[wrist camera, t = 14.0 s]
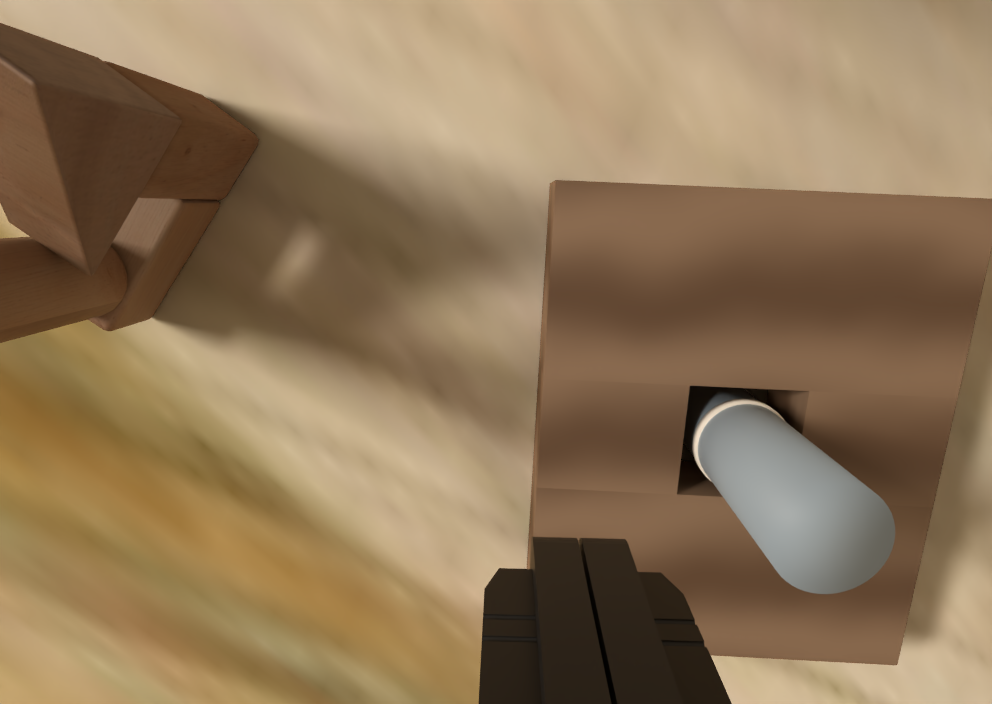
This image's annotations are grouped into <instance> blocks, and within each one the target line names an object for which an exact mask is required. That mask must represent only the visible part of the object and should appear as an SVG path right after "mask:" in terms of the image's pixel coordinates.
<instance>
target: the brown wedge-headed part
mask: <svg viewBox="0 0 992 704" xmlns="http://www.w3.org/2000/svg"><path fill="white" fill-rule="evenodd" d="M258 141H259V140H258V138H257V137H256V135H255V134H254V133H253V132H251V131H250V130H249V129H247V128H246V127H245V126H243V125H242V124H241V123H239V122H238V121H236V120H235V119H234V118H232V117H231V116H230V115H228V114H227V113H226V112H224V111H223V110H222V109H220V108H219V107H217V106H216V105H215V104H213V103H212V102H211V101H209V100H208V99H207V98H205V97H204V96H203V95H201V94H198V93H195V92H192V91H190V90H187V89H184V88H181V87H178V86H176V85H173V84H170V83H167V82H164V81H161V80H159V79H156V78H153V77H150V76H147V75H145V74H142V73H139V72H136V71H133V70H130V69H128V68H125V67H122V66H119V65H116V64H113V63H110V62H106V61H102V60H100V59H99V58H97V57H94V56H92V55H89V54H86V53H83V52H80V51H78V50H75V49H72V48H69V47H66V46H64V45H61V44H58V43H55V42H52V41H50V40H47V39H44V38H41V37H38V36H36V35H33V34H30V33H27V32H24V31H22V30H19V29H16V28H13V27H10V26H8V25H5V24H2V23H0V203H1V205H2V207H3V210H4V212H5V214H6V216H7V219H8V221H9V222H10V223H11V224H13V225H14V226H16V227H17V228H19V229H20V230H21V231H23V232H24V233H26V234H27V235H29V236H30V237H19V238H3V239H0V343H2V342H5V341H9V340H13V339H17V338H20V337H24V336H28V335H31V334H35V333H39V332H43V331H46V330H50V329H54V328H57V327H61V326H65V325H68V324H72V323H76V322H80V321H83V320H87V319H88V320H90V321H91V322H93V323H94V324H96V325H97V326H99V327H100V328H102V329H103V330H106V331H113V330H116V329H119V328H123V327H126V326H129V325H132V324H135V323H138V322H142V321H145V320H148V319H150V318H151V317H152V316H153V315H154V313H155V311H156V310H157V308H158V306H159V305H160V303H161V301H162V300H163V298H164V297H165V295H166V293H167V292H168V290H169V288H170V287H171V285H172V284H173V282H174V280H175V279H176V277H177V275H178V274H179V272H180V270H181V269H182V267H183V266H184V264H185V262H186V261H187V259H188V257H189V256H190V254H191V253H192V251H193V249H194V248H195V246H196V244H197V243H198V241H199V239H200V238H201V236H202V235H203V233H204V231H205V230H206V228H207V226H208V225H209V223H210V222H211V220H212V218H213V217H214V215H215V213H216V212H217V210H218V208H219V206H220V203H219V202H218V200H222V199H223V198H225V197H226V196H227V194H228V193H229V191H230V189H231V188H232V186H233V184H234V183H235V181H236V179H237V178H238V176H239V175H240V173H241V171H242V170H243V168H244V166H245V165H246V163H247V162H248V160H249V158H250V157H251V155H252V153H253V152H254V150H255V148H256V147H257V145H258Z"/></svg>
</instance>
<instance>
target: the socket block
mask: <svg viewBox="0 0 992 704" xmlns="http://www.w3.org/2000/svg"><path fill="white" fill-rule="evenodd" d="M991 249H992V199H984V198H960V197H937V196H914V195H890V194H867V193H844V192H820V191H797V190H773V189H750V188H727V187H703V186H680V185H656V184H633V183H610V182H586V181H563V180H555V181H554V182H552V183H550V193H549V209H548V226H547V242H546V259H545V275H544V292H543V309H542V325H541V342H540V358H539V375H538V391H537V408H536V424H535V441H534V458H533V474H532V491H531V507H530V524H529V540H528V557H527V569H530V556H531V540H532V537H563V538H577V539H578V542H579V539H580V538H607V539H626V541H627V542H628V545H629V548H630V551H631V554H632V557H633V560H634V562H635V565H636V568H637V571H638V572H661V573H662V574H663V575H664V576H665V577H666V578H667V579H668V580H669V581H670V582H671V583H673V584H674V585H675V586H676V587H677V588H678V589H679V590H680V591H681V592H682V593H683V594H684V596H685V598H686V601H687V603H688V605H689V607H690V610H691V612H692V614H693V617H694V619H695V625H697V626H698V628H699V630H700V633H701V635H702V637H703V640H704V645H705V647H707V649H708V651H709V653H710V655H716V656H735V657H753V658H772V659H791V660H809V661H828V662H846V663H865V664H884V665H897V663H898V659H899V655H900V650H901V646H902V641H903V637H904V633H905V628H906V624H907V619H908V615H909V610H910V606H911V602H912V597H913V593H914V588H915V584H916V580H917V575H918V571H919V566H920V562H921V558H922V553H923V549H924V544H925V540H926V536H927V531H928V527H929V522H930V518H931V513H932V509H933V505H934V500H935V496H936V491H937V487H938V483H939V478H940V474H941V469H942V465H943V461H944V456H945V452H946V447H947V443H948V438H949V434H950V430H951V425H952V421H953V416H954V412H955V408H956V403H957V399H958V394H959V390H960V386H961V381H962V377H963V372H964V368H965V364H966V359H967V355H968V350H969V346H970V341H971V337H972V333H973V328H974V324H975V319H976V315H977V311H978V306H979V302H980V297H981V293H982V289H983V284H984V280H985V275H986V271H987V266H988V262H989V258H990V253H991ZM690 386H711V387H732V388H753V389H769V390H768V397H767V403H766V404H767V405H768V406H770V407H771V408H772V409H774V410H775V411H776V412H778V413H779V414H780V415H781V416H782V418H783V419H784V420H785V422H786V423H788V424H789V425H790V426H791V427H793V428H794V429H795V430H797V431H798V432H799V433H800V434H802V435H803V436H804V437H805V438H807V439H808V440H809V441H810V442H812V443H813V444H814V445H815V446H817V447H818V448H819V449H820V450H822V451H823V452H824V453H826V454H827V455H828V456H829V457H831V458H832V459H833V460H834V461H836V462H837V463H838V464H839V465H841V466H842V467H843V468H844V469H846V470H847V471H848V472H849V473H851V474H852V475H853V476H855V477H856V478H857V479H858V480H860V481H861V482H862V483H863V484H865V485H866V486H867V487H868V488H870V489H871V490H872V491H873V492H875V493H876V494H877V495H879V496H880V497H881V498H882V499H883V500H884V502H885V503H886V504H887V506H888V507H889V509H890V511H891V513H892V516H893V519H894V524H895V540H894V545H893V548H892V551H891V553H890V556H889V558H888V559H887V561H886V562H885V564H884V565H883V566H882V568H881V569H880V570H879V571H878V572H877V573H876V574H875V575H874V576H873V577H872V578H870V579H869V580H868V581H866V582H865V583H863V584H861V585H859V586H857V587H855V588H853V589H850V590H847V591H844V592H840V593H834V594H816V593H810V592H806V591H803V590H800V589H798V588H796V587H794V586H792V585H791V584H789V583H788V582H786V581H785V580H784V579H783V578H782V577H781V576H780V575H779V574H778V572H777V571H776V570H775V568H774V567H773V566H772V564H771V563H770V561H769V560H768V559H767V557H766V556H765V554H764V553H763V552H762V550H761V549H760V548H759V546H758V545H757V543H756V542H755V541H754V539H753V538H752V536H751V535H750V534H749V532H748V531H747V530H746V528H745V527H744V525H743V524H742V523H741V521H740V520H739V518H738V517H737V516H736V514H735V513H734V512H733V510H732V509H731V507H730V506H729V505H728V503H727V502H726V500H725V499H724V498H723V496H722V495H721V494H720V492H719V491H718V489H717V488H716V487H715V485H714V484H713V482H711V481H710V480H709V479H708V478H707V477H706V476H705V475H704V474H703V472H702V471H701V470H700V468H699V467H698V465H697V463H696V461H681V455H682V447H683V439H684V430H685V422H686V414H687V405H688V397H689V389H690Z"/></svg>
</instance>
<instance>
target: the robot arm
mask: <svg viewBox="0 0 992 704" xmlns="http://www.w3.org/2000/svg"><path fill="white" fill-rule="evenodd" d="M479 704H731V701H730V699H729V697H728V694H727V692H726V690H725V688H724V685H723V683H722V681H721V678H720V676H719V674H718V672H717V669H716V667H715V665H714V662H713V660H712V658H711V656H710V653H709V651H708V649H707V647H705V645H704V640H703V637H702V635H701V633H700V630H699V628H698V626H697V625H695V619H694V617H693V614H692V612H691V610H690V607H689V605H688V603H687V601H686V598H685V596H684V594H683V593H682V592H681V591H680V590H679V589H678V588H677V587H676V586H675V585H674V584H673V583H671V582H670V581H669V580H668V579H667V578H666V577H665V576H664V575H663V574H662V573H661V572H638V571H637V568H636V565H635V562H634V560H633V557H632V554H631V551H630V548H629V545H628V542H627V541H626V539H607V538H580V539H579V542H578V539H577V538H563V537H532V540H531V556H530V569H505V568H499V569H498V571H497V572H496V573H495V575H494V576H493V578H492V579H491V581H490V582H489V584H488V585H487V586H486V588H485V592H484V612H483V631H482V650H481V669H480V689H479Z"/></svg>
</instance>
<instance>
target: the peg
mask: <svg viewBox="0 0 992 704" xmlns="http://www.w3.org/2000/svg"><path fill="white" fill-rule="evenodd" d="M683 442H684V444H685V445H686V446H687V448H688V449H689V451H690V452H691V453H692V455H693V456H694V459H695V461H696V463H697V465H698V467H699V468H700V470H701V471H702V472H703V474H704V475H705V476H706V477H707V478H708V479H709V480H710V481H711V482H713V484H714V485H715V487H716V488H717V489H718V491H719V492H720V494H721V495H722V496H723V498H724V499H725V500H726V502H727V503H728V505H729V506H730V507H731V509H732V510H733V512H734V513H735V514H736V516H737V517H738V518H739V520H740V521H741V523H742V524H743V525H744V527H745V528H746V530H747V531H748V532H749V534H750V535H751V536H752V538H753V539H754V541H755V542H756V543H757V545H758V546H759V548H760V549H761V550H762V552H763V553H764V554H765V556H766V557H767V559H768V560H769V561H770V563H771V564H772V566H773V567H774V568H775V570H776V571H777V572H778V574H779V575H780V576H781V577H782V578H783V579H784V580H785V581H786V582H788V583H789V584H791V585H792V586H794V587H796V588H798V589H800V590H803V591H806V592H810V593H816V594H834V593H840V592H844V591H847V590H850V589H853V588H855V587H857V586H859V585H861V584H863V583H865V582H866V581H868V580H869V579H870V578H872V577H873V576H874V575H875V574H876V573H877V572H878V571H879V570H880V569H881V568H882V566H883V565H884V564H885V562H886V561H887V559H888V558H889V556H890V553H891V551H892V548H893V545H894V540H895V524H894V519H893V516H892V513H891V511H890V509H889V507H888V506H887V504H886V503H885V502H884V500H883V499H882V498H881V497H880V496H879V495H877V494H876V493H875V492H873V491H872V490H871V489H870V488H868V487H867V486H866V485H865V484H863V483H862V482H861V481H860V480H858V479H857V478H856V477H855V476H853V475H852V474H851V473H849V472H848V471H847V470H846V469H844V468H843V467H842V466H841V465H839V464H838V463H837V462H836V461H834V460H833V459H832V458H831V457H829V456H828V455H827V454H826V453H824V452H823V451H822V450H820V449H819V448H818V447H817V446H815V445H814V444H813V443H812V442H810V441H809V440H808V439H807V438H805V437H804V436H803V435H802V434H800V433H799V432H798V431H797V430H795V429H794V428H793V427H791V426H790V425H789V424H788V423H786V422H785V420H784V419H783V418H782V416H781V415H780V414H779V413H778V412H776V411H775V410H774V409H772V408H771V407H770V406H768V405H767V404H765V403H763V402H760V401H759V400H757V399H756V398H755V397H754V396H752V395H751V394H750V393H749V392H747V391H746V390H745V389H744V388H732V387H711V386H690V389H689V397H688V405H687V414H686V422H685V430H684V439H683Z"/></svg>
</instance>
